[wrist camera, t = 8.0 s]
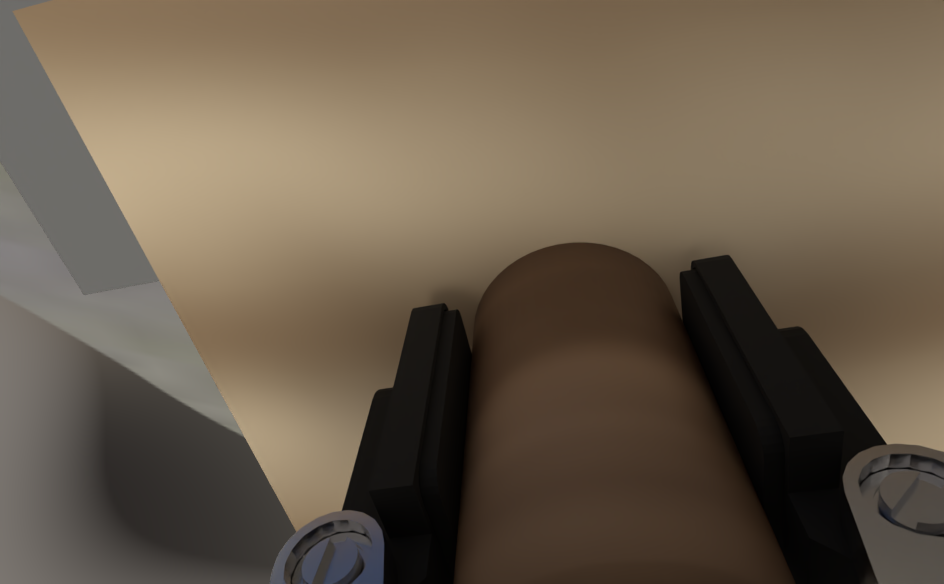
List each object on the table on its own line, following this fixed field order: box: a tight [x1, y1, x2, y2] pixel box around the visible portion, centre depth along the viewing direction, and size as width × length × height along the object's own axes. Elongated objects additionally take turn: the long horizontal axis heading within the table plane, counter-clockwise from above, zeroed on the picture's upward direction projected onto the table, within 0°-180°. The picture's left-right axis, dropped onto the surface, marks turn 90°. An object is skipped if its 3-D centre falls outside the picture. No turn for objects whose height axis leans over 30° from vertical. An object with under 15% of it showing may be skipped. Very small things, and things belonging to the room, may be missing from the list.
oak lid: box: [13, 0, 944, 584], centre depth 9 cm, size 14×14×7 cm
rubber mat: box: [0, 0, 159, 295], centre depth 29 cm, size 18×16×1 cm
